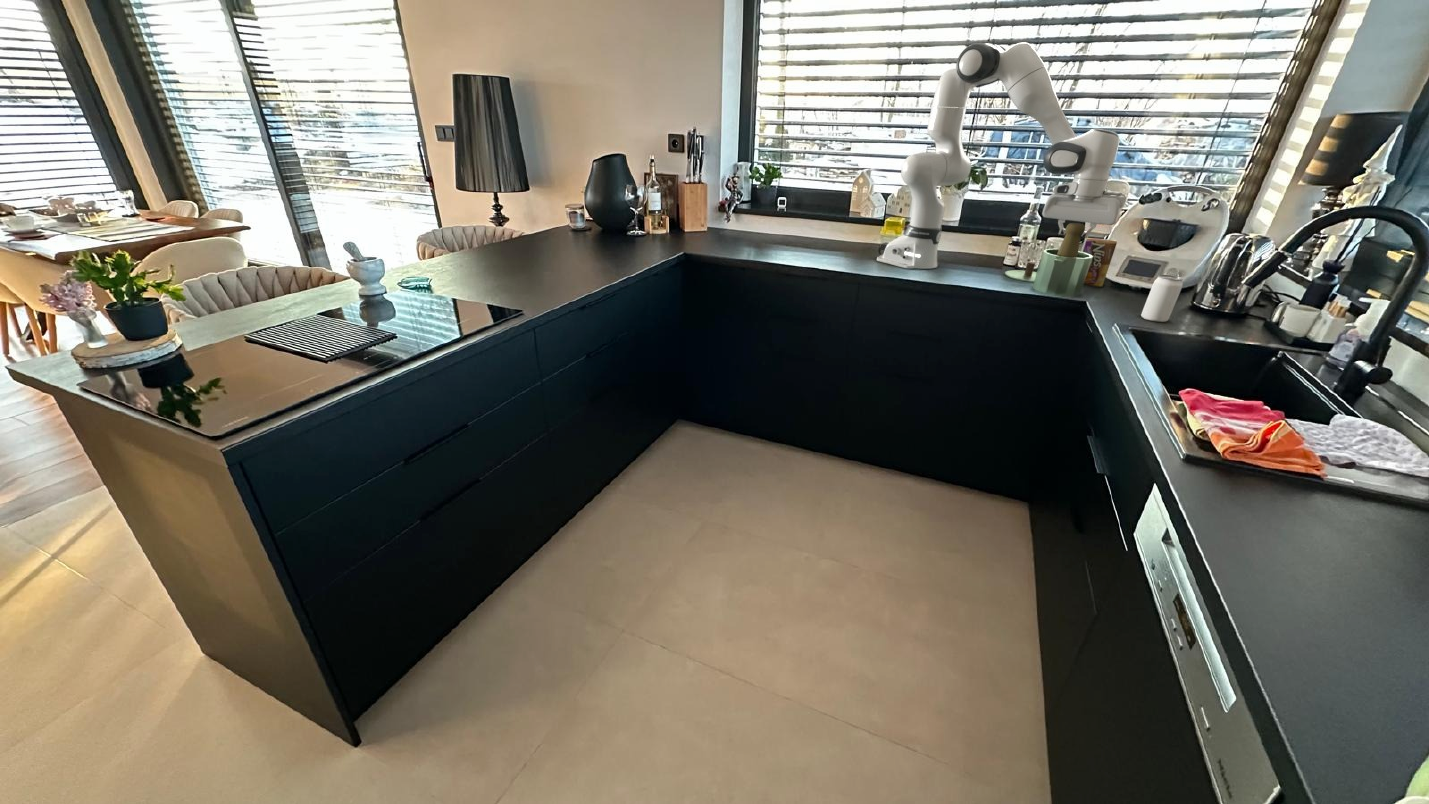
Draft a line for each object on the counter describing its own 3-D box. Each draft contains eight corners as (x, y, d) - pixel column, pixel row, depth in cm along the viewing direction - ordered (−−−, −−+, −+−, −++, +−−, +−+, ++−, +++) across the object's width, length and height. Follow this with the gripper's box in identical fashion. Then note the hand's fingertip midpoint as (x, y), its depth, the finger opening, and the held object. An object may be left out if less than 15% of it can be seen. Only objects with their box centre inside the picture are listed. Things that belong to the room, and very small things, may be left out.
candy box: (1100, 285, 190) (1116, 239, 183) (1102, 288, 187) (1118, 242, 180) (1070, 281, 194) (1085, 236, 187) (1072, 284, 190) (1086, 239, 183)
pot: (1024, 293, 179) (1035, 254, 174) (1041, 282, 192) (1052, 245, 186) (1071, 302, 171) (1084, 262, 165) (1086, 290, 184) (1099, 252, 178)
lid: (998, 278, 195) (1002, 262, 193) (1012, 271, 205) (1016, 255, 202) (1043, 286, 187) (1048, 270, 184) (1055, 279, 196) (1060, 262, 194)
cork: (1071, 257, 179) (1082, 222, 174) (1080, 261, 174) (1092, 225, 168) (1051, 256, 179) (1062, 221, 174) (1060, 260, 174) (1071, 224, 169)
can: (1157, 315, 162) (1173, 274, 156) (1173, 322, 156) (1191, 280, 151) (1135, 314, 162) (1151, 274, 156) (1150, 322, 156) (1167, 280, 150)
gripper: (1130, 191, 163) (1113, 239, 169) (1053, 185, 175) (1041, 230, 181) (1126, 193, 159) (1109, 242, 165) (1048, 186, 171) (1035, 232, 177)
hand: (1072, 236), depth 173 cm, fingers closed on cork, 5 cm apart
